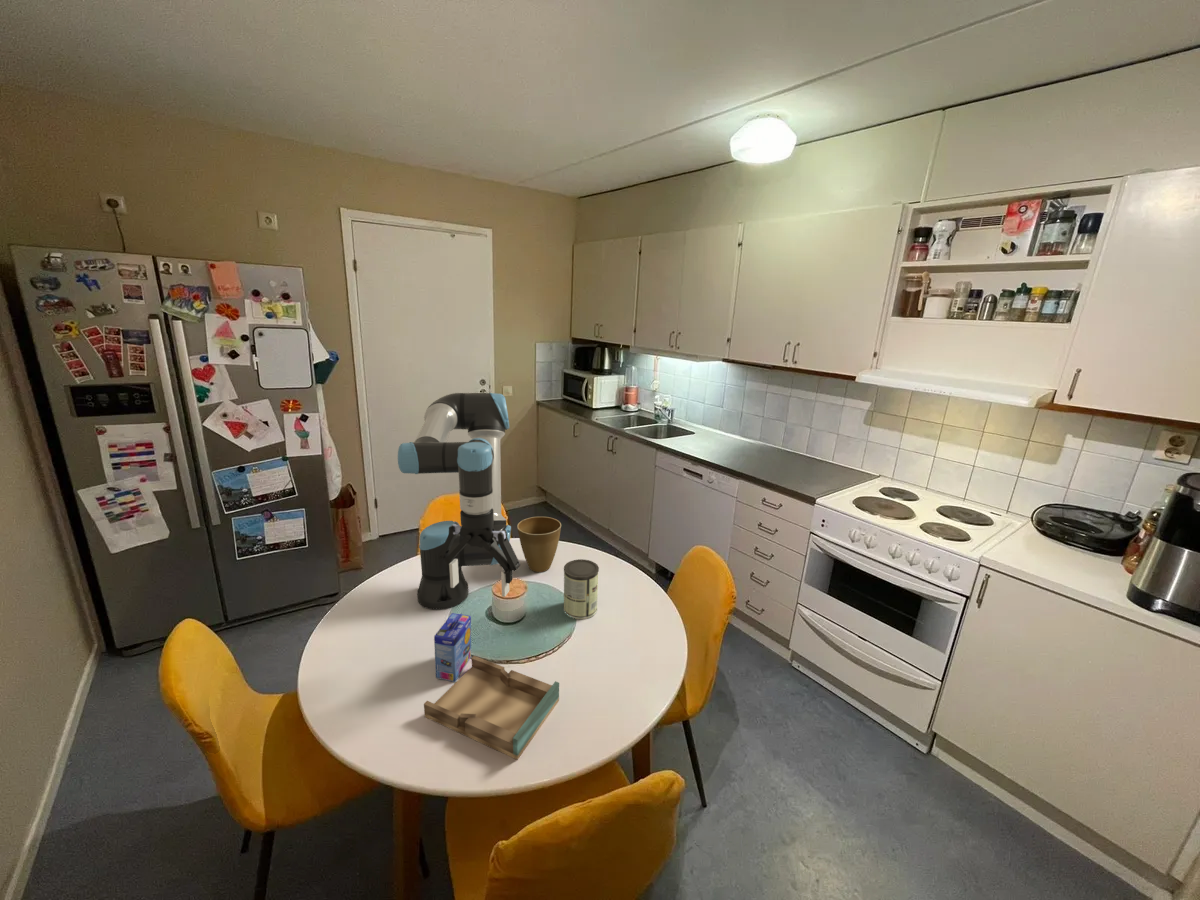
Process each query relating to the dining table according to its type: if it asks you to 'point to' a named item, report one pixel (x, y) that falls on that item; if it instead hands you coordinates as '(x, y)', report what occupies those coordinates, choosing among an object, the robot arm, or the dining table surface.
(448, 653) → the ink cartridge box
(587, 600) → the coffee can
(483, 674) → the channel
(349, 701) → the dining table surface
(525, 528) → the plant pot
